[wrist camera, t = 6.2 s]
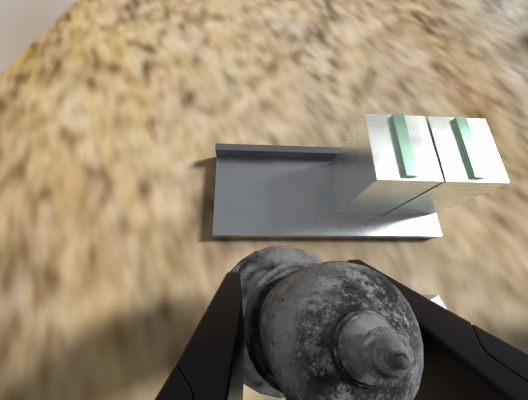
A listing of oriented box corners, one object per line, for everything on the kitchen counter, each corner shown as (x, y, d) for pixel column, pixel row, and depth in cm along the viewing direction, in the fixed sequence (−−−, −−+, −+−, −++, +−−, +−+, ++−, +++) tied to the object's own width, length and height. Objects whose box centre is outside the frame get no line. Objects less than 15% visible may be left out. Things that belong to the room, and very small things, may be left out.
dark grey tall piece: (197, 304, 14) (33, 335, 3) (276, 237, 16) (376, 89, 4) (267, 400, 13) (496, 1200, 1) (345, 316, 14) (717, 384, 3)
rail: (432, 238, 23) (530, 210, 16) (213, 238, 22) (198, 206, 14) (413, 162, 26) (488, 105, 18) (218, 156, 25) (207, 90, 17)
